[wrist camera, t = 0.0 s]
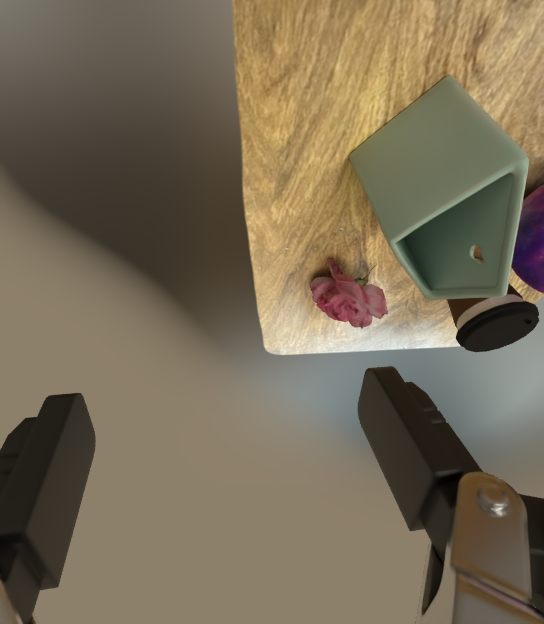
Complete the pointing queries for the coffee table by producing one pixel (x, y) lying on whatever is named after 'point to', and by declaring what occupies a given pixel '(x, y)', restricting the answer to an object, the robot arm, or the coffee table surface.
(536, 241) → the decorative orb
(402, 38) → the coffee table surface
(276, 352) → the coffee table surface
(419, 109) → the planter
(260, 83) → the coffee table surface
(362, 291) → the flower
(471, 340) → the coffee cup
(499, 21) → the coffee table surface
